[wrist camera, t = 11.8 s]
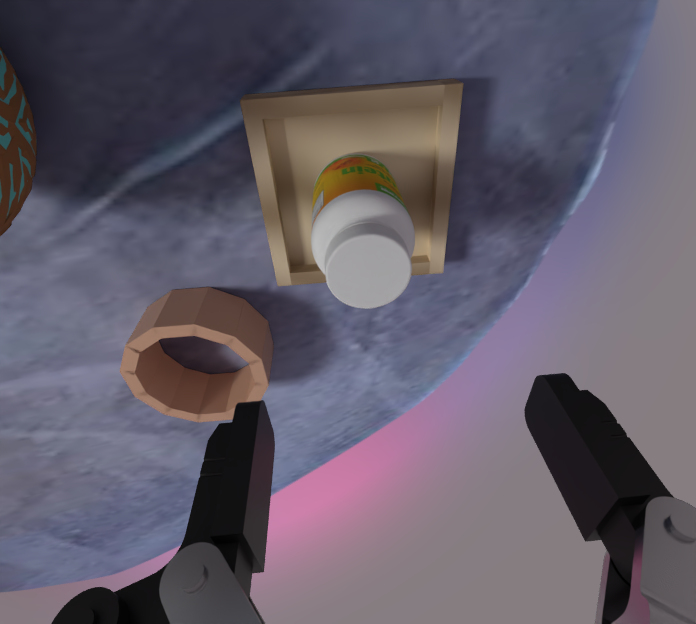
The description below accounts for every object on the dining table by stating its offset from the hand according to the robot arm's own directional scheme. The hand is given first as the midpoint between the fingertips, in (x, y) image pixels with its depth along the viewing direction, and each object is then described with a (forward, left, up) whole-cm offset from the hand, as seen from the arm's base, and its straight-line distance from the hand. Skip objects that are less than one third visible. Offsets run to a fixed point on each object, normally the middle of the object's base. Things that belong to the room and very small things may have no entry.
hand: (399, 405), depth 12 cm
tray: (0, 0, -18) cm, 18 cm away
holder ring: (+12, -13, -18) cm, 25 cm away
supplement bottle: (0, 0, -17) cm, 17 cm away
